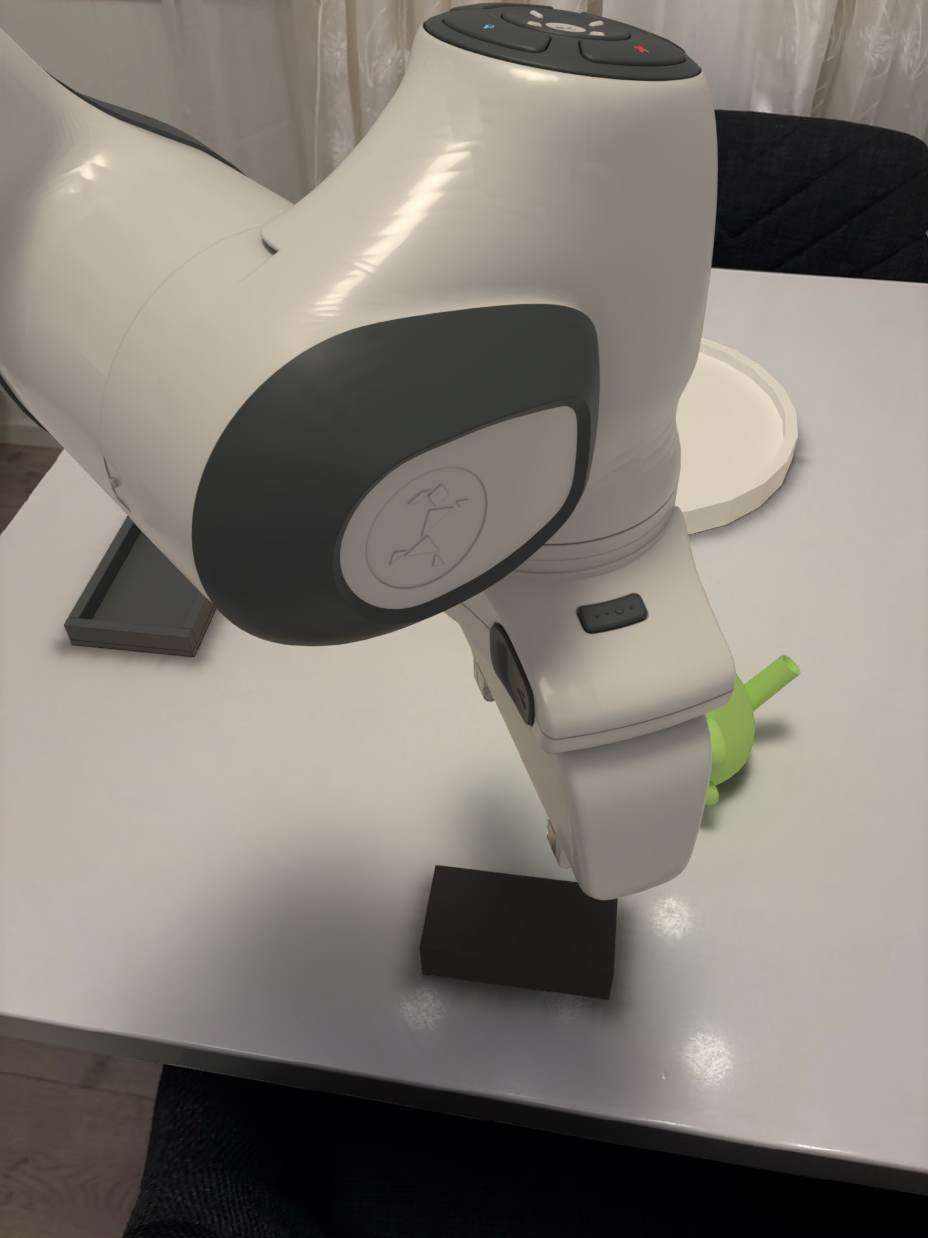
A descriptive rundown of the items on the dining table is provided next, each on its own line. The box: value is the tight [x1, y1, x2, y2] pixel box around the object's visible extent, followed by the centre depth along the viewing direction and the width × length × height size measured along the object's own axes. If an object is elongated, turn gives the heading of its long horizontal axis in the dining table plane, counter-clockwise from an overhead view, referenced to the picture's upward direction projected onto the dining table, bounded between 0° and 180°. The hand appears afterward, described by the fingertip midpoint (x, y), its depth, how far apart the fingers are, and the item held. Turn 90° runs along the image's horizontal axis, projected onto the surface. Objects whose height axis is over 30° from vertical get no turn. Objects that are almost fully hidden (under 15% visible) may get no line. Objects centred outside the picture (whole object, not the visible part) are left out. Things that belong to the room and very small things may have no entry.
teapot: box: [705, 654, 801, 806], centre depth 63 cm, size 11×12×8 cm
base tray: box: [63, 515, 217, 658], centre depth 77 cm, size 14×9×2 cm
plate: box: [675, 336, 799, 536], centre depth 89 cm, size 28×28×2 cm
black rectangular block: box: [418, 864, 619, 1001], centre depth 56 cm, size 10×5×3 cm, turn 81°
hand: (531, 764), depth 46 cm, fingers open, 8 cm apart
